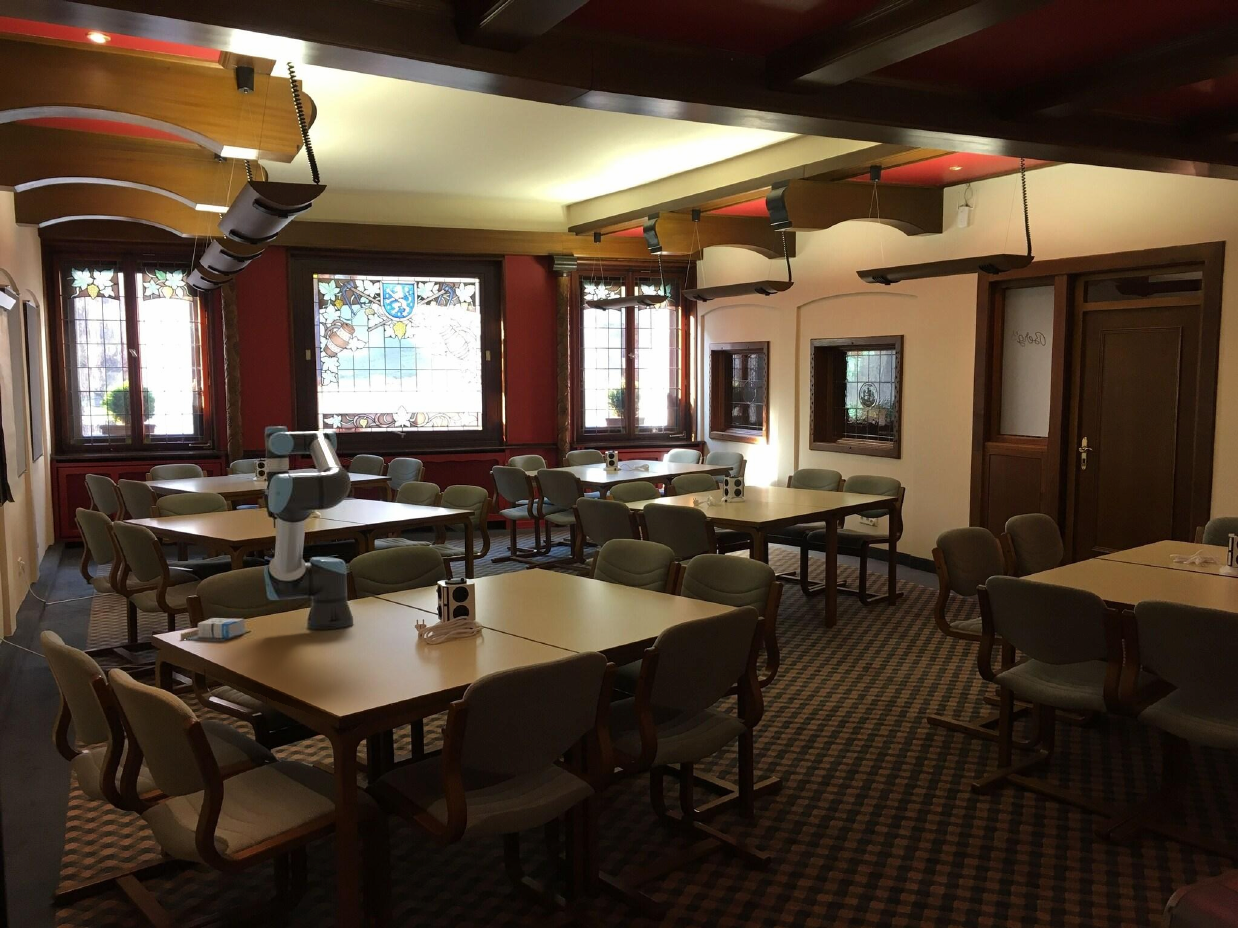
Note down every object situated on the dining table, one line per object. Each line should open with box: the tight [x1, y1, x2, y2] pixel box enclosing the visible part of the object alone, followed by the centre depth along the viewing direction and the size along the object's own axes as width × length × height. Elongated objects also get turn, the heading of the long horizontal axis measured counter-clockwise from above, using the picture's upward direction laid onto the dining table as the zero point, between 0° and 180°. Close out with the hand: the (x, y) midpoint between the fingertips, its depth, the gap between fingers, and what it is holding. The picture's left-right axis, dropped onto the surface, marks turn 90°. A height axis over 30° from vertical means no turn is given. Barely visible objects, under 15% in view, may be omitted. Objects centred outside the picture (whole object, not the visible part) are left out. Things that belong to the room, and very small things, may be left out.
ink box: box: [197, 617, 246, 639], centre depth 310 cm, size 9×5×12 cm
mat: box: [180, 628, 252, 643], centre depth 312 cm, size 15×15×2 cm
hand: (280, 537), depth 333 cm, fingers closed
